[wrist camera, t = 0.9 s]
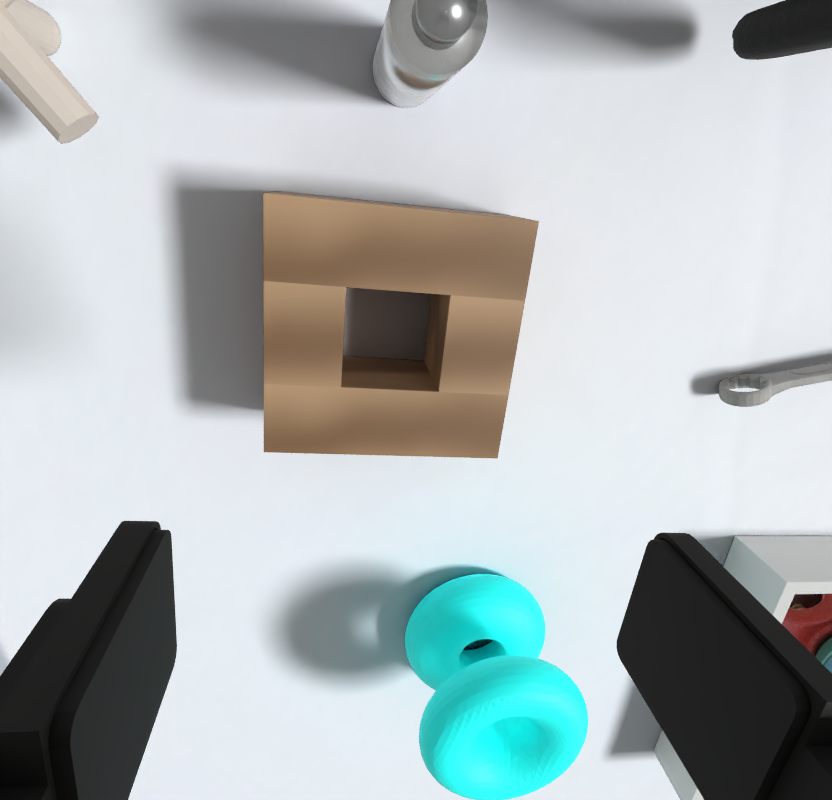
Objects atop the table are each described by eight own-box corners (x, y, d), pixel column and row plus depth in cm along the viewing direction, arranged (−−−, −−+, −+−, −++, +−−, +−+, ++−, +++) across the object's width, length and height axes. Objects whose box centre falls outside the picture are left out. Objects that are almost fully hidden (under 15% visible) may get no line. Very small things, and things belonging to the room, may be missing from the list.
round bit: (374, 24, 25) (399, -74, 15) (442, 35, 25) (508, -53, 16) (370, 103, 26) (389, 58, 16) (435, 111, 27) (491, 72, 17)
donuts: (551, 818, 33) (398, 805, 31) (504, 679, 42) (384, 660, 40) (626, 702, 30) (463, 676, 27) (558, 579, 39) (431, 552, 37)
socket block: (275, 190, 27) (263, 193, 22) (506, 214, 29) (538, 221, 24) (274, 411, 31) (263, 451, 27) (475, 419, 33) (497, 458, 29)
